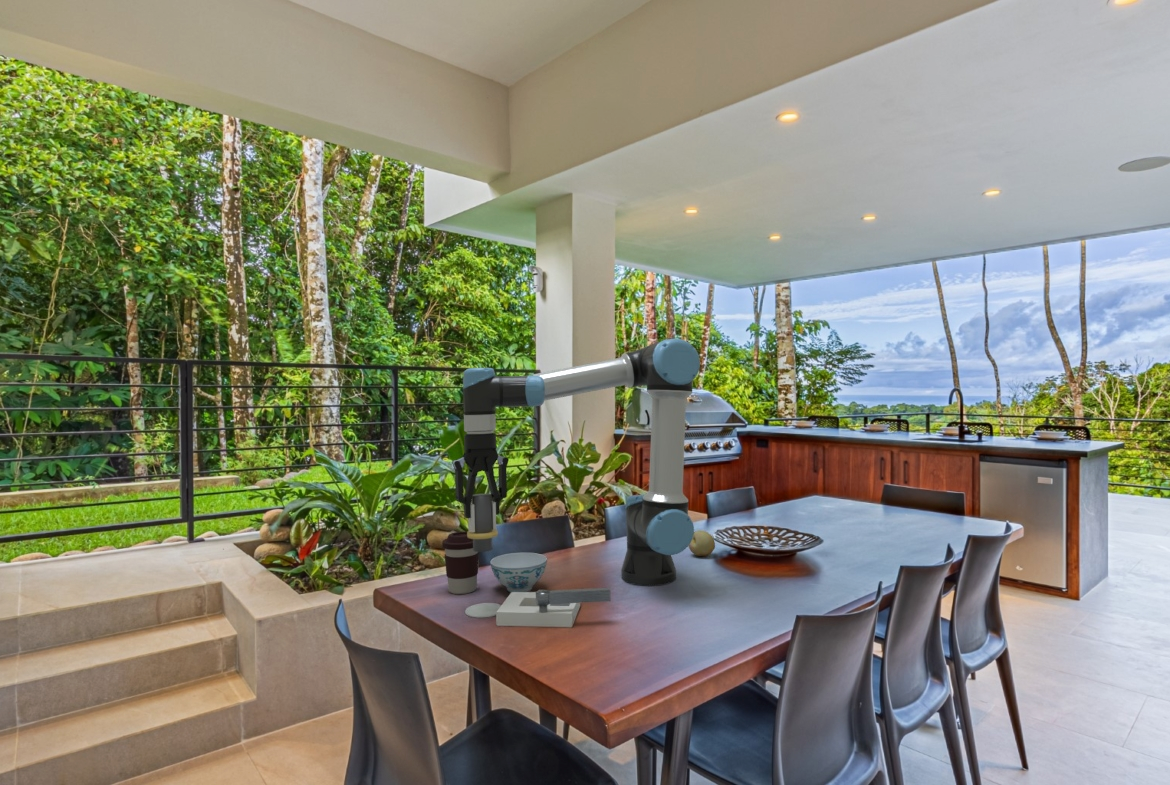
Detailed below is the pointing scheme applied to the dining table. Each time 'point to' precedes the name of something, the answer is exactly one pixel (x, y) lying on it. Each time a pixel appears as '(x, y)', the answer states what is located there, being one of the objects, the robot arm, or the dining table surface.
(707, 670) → the dining table surface
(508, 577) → the chinaware
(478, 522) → the plug
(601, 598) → the grey lever handle
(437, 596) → the dining table surface
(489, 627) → the dining table surface
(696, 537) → the fruit
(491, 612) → the mat
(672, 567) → the robot arm
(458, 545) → the coffee cup
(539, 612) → the socket block
